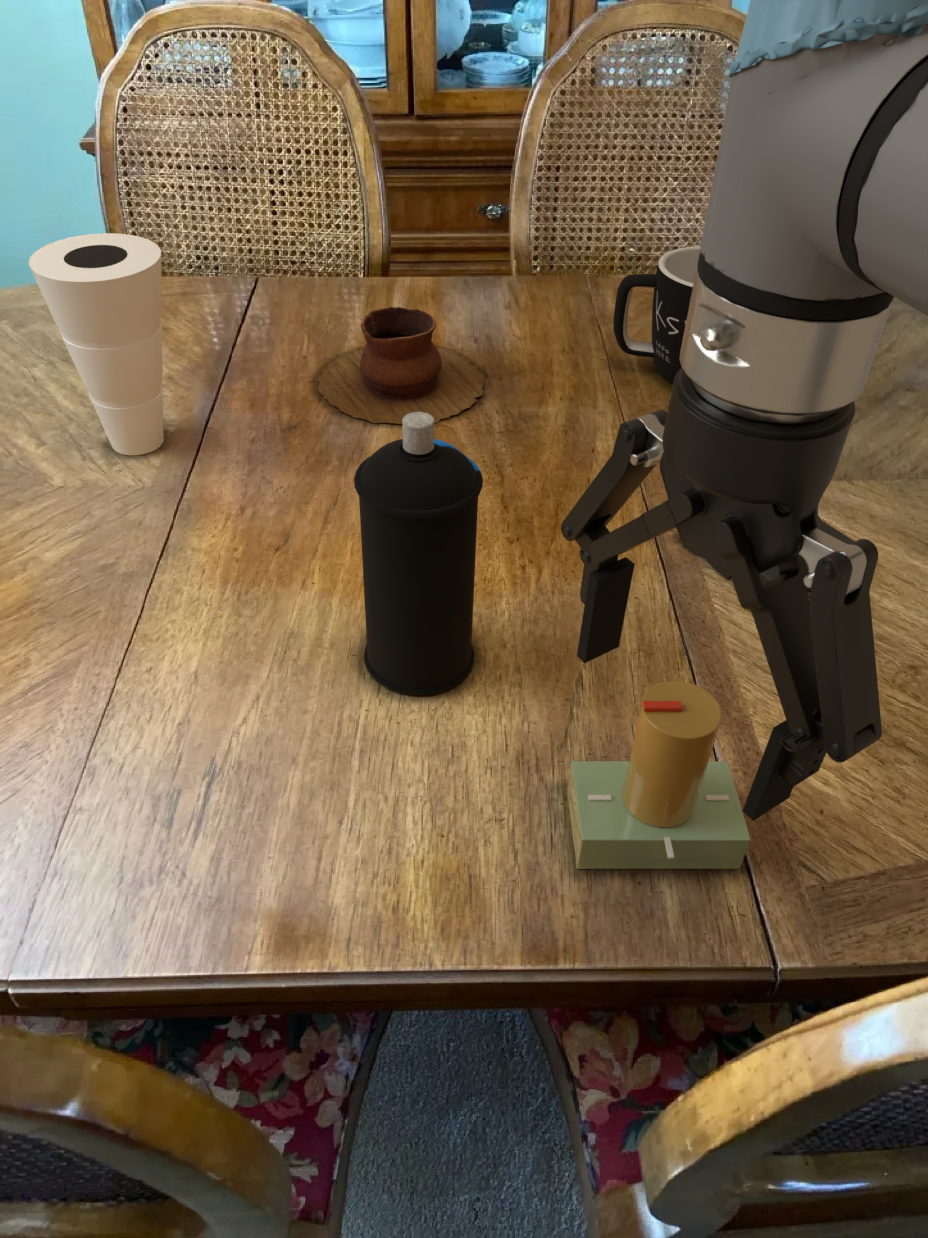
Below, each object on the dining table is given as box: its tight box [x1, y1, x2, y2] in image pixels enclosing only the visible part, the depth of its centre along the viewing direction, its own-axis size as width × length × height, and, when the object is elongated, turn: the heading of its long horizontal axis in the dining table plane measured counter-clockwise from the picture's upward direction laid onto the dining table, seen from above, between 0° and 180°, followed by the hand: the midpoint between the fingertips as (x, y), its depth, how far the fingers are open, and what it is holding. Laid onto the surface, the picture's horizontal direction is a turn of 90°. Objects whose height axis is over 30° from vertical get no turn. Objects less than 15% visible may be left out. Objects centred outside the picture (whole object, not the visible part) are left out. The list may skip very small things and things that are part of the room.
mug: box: [612, 245, 701, 384], centre depth 103 cm, size 16×16×12 cm
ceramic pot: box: [316, 306, 486, 425], centre depth 101 cm, size 18×18×7 cm
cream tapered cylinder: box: [28, 232, 164, 456], centre depth 87 cm, size 11×11×18 cm
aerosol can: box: [353, 412, 484, 696], centre depth 65 cm, size 8×8×20 cm
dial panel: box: [566, 760, 752, 870], centre depth 60 cm, size 10×9×3 cm
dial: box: [622, 680, 723, 828], centre depth 56 cm, size 4×4×8 cm
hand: (675, 722), depth 54 cm, fingers open, 13 cm apart
